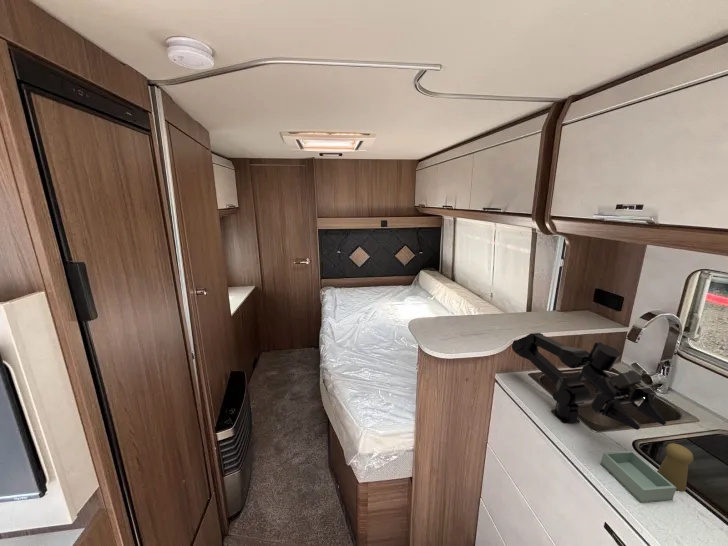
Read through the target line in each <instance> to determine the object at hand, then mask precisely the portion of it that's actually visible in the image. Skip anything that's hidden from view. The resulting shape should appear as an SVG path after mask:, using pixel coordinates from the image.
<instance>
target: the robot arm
mask: <svg viewBox="0 0 728 546" xmlns="http://www.w3.org/2000/svg"><path fill="white" fill-rule="evenodd" d="M538 347H539V348H541V349H543V350H544V351H546V352H549V354H553V355H554V356H556V357H558V358H559V360H560V362H561V363H562V364H563V365H565V366H566V367H568V368H570V369H580V368H581V370H579V371H577V374H578V375H577V376H567V375H566V374H564V373H563V372H562V371H561V370H560V369H559V368H558V367H556V365H554V364H553V363H552V362H551V361H550V360H549V359H547V357H545V356H544V355H543V354H541V352H540V351H539V348H538ZM511 349H512V351H513V352H514V353H515V354H516V355H518V356H519V357H521V358H524V359H526V360H528V361H530V362H531V363H532V365H534V367H536V368H537V369H538V370H539V371H540V372H541V373H542V374H543V375H544V376H545V377H546V378H548V380H550V381H551V382H552V384H554V385H555V388H556V391H554V392H552V399H553V400H554V401H556V402H555V408H552V409H550V411H551V412H552V414H553V415H554V416H555V417H556V418H557V419H559V421H560V422H561V423H563V424H569V423H580V422H581V420H580V419H579V418H578V416H579V409H580V406H579V405H584V404H585V403H586V402H589V401H590V399H591V393H590V389H589V388H588V387H587V384H586V383H584V382H583V381H584V380H586V381H588V382H589V383H590V384H591V385H592V386H593V388H595V390H594V392H595V393H596V396H595V397H594V399H593V401H592V402H591V403H590V405H591V409H592V410H593V411H594V413H596V415H601V416H603V417H607V418H611V419H612V420H614V421H617V422H619V423H622V424H624V425H625V426H627V427H630V428H632V429H634V430H638V431H639V429H640V428H641V426H640V425H639V424H638V423H637V422H636V420H634V419H633V418H632V417H631V416H630V415H629V414H628V412H627V411H626V410H625V409H624V408H623V407H622V404H623V405H624V404H629V403H630V405H632V407H636V411H638V412H640V413H641V414H643V415H645V416H646V417H648V418H650V419H651V420H653V421H655V422H656V423H658V424H660V425H662V426H666V424H667V421H666V420H665V419H664V417H663V416H662V414H661V413H660V411H659V410H658V408H657V406H656V404H655V403H654V400H655V398H656V395H657V393H656V391H654V390H653V389H651V388H650V387H647V386H646V387H638V388H635V389H634V390H633V387H634V386H636V385H638V384H642V379H643V378H642V375H641V374H640V373H638V372H637V371H635V370H633V369H632V370H628V371H626V372H623V373H620V374H618V375H616V376H611V375H610V374H609V373H608V372H607V371H611V370H612V369H613V367H614V366H615V364H616V363H617V361H618V360H619V358H620V356H621V352H620V351H619V350H618V349H616V347H613V346H610V345H607V344H604V343H602V342H600V341H599V342H594V344H593V347H592V348H591V351H590V352H589V351H587V350H585V349H584V348H578V347H573V346H568V345H564V344H563V343H560V342H558V341H556V340H554V339H552V338H550V337H549V336H546V335H544V334H543V333H541V332H531V333H529V334H527V335H526V336H523V337H521V338H519V339H515V340H513V341H512V344H511ZM632 390H633V392H632ZM630 392H632V394H631V393H630Z"/></svg>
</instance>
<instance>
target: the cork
mask: <svg viewBox="0 0 728 546" xmlns="http://www.w3.org/2000/svg"><path fill="white" fill-rule="evenodd" d="M665 452H666V455H665V457H664V459H663V461H662V463H661V464H660V466H659V468H658V469H657V470H656V471H657V472H658V473H659V474H661V475H662V476H663V477H664V478H665V479H667V480H668V481H669V482H670V483H671V484H673V485H674V486H675V487H676V490H675V492H678V491H679V492H680V493H683V492H685V491H687V482H688V472H689V465H690V464H692V463H693V462H694V454H693V453H692V451H691V450H689V449H688V448H687V447H685V446H683V445H681V444H678V443H672V442H671V443H669V444H667V445H666V447H665Z"/></svg>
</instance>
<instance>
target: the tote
mask: <svg viewBox="0 0 728 546" xmlns="http://www.w3.org/2000/svg"><path fill="white" fill-rule="evenodd" d="M600 466H602V468H604V469H605V470H606V471H607V472H608V473H609V474H610V475H611V476H612V477H613V478H614V479H615V480H616V481H617V482H618V483H619V484H620V485H622V487H623V488H624V489H625V490H626V491H628V492H629V494H630V495H631V496H633V498H634V499H636V501H638V503H640V504H642V503H646V504H647V503H654V502H666V501H667V502H670V501H673V499H674V496H675V493H676V491H675V490H676V487H675V486H674V485H673V484H671V483H670V482H669V481H668V480H667V479H665V478H664V477H663V476H662V475H661V474H659V473H658V472H657V471H658V470H656V469H654V467H652V466H651V465H650V464H649V463H647V461H645V460H644V459H643V458H642V457H640V456H639V455H638V454H637V453H635V452H634V451H633V450H623V451H622V450H621V451H619V450H618V451H605V452H604V451H603V453H602V455H601V461H600Z"/></svg>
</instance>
